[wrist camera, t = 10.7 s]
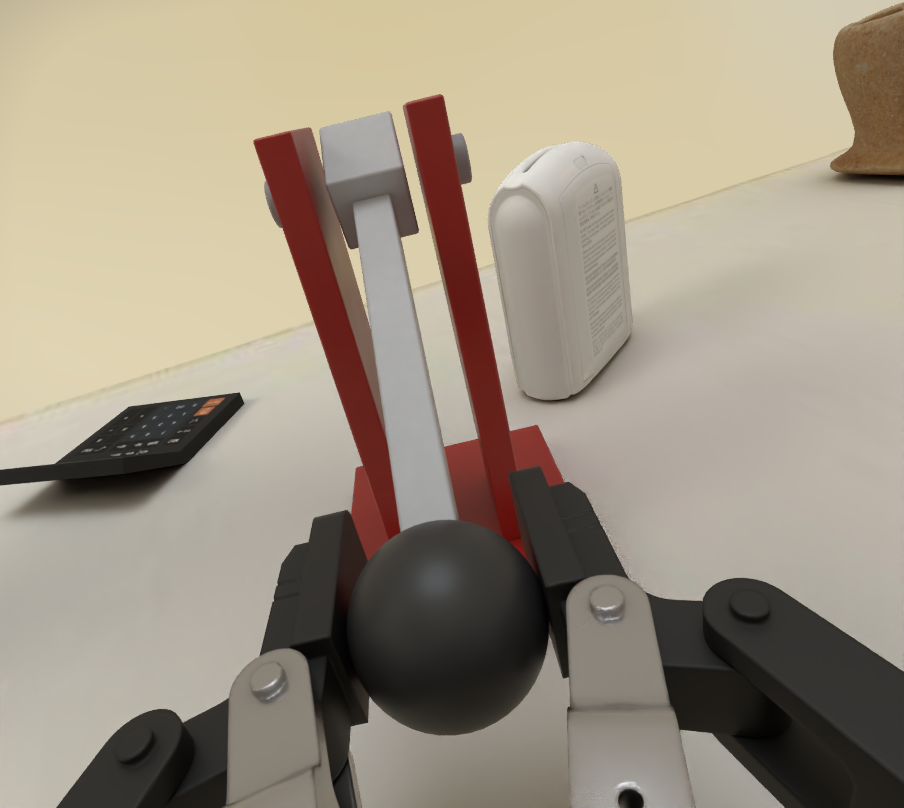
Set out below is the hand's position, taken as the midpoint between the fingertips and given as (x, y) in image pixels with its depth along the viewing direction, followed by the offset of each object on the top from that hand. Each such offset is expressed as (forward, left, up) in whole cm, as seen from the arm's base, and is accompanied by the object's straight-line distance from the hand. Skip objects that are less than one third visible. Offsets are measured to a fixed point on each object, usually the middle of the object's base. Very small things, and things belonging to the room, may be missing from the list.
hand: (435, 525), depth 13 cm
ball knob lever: (+3, +2, +2) cm, 4 cm away
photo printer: (+23, +7, -8) cm, 25 cm away
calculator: (+5, +30, -8) cm, 32 cm away
